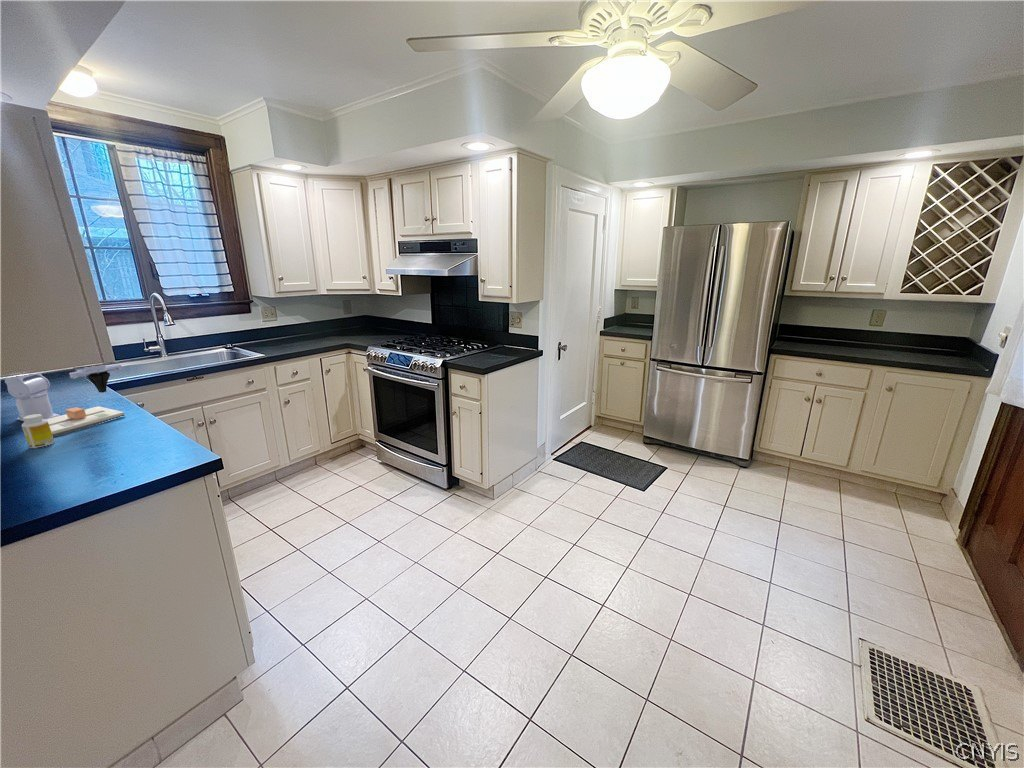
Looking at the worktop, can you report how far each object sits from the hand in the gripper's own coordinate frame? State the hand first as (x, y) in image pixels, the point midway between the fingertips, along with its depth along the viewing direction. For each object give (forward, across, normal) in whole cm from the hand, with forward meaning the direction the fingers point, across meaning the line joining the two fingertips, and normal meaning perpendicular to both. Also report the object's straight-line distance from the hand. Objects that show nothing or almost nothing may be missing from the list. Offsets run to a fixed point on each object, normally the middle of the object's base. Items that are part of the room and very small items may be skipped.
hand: (102, 391), depth 154 cm
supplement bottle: (+10, -24, -13) cm, 29 cm away
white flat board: (+9, -9, 0) cm, 13 cm away
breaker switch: (+8, -9, 0) cm, 12 cm away
